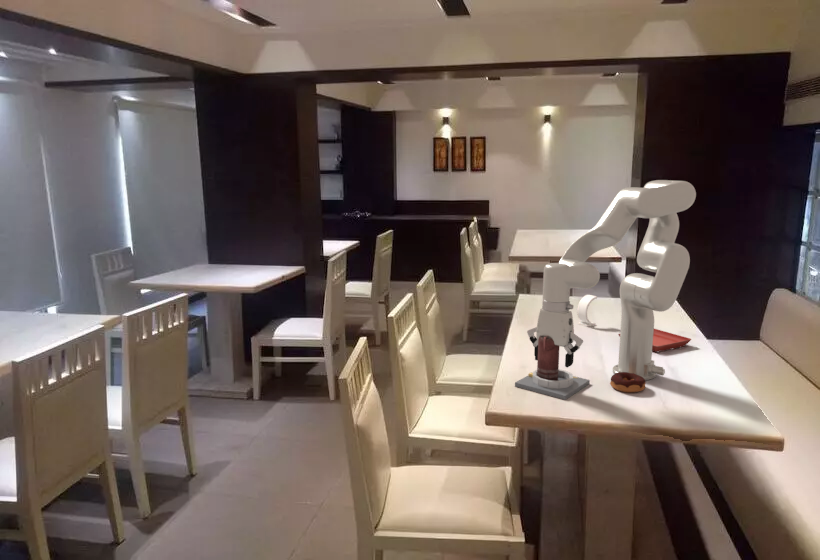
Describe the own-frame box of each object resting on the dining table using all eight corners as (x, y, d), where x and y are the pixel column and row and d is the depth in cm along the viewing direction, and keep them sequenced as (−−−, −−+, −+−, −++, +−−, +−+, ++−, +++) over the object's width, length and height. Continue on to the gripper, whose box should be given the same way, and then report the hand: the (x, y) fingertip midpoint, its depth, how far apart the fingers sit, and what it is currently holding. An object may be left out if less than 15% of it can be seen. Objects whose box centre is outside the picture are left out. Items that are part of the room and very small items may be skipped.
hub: (589, 383, 176) (589, 373, 175) (565, 399, 164) (565, 388, 163) (541, 372, 186) (541, 362, 185) (514, 386, 174) (515, 376, 173)
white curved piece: (595, 325, 240) (597, 296, 238) (584, 327, 237) (586, 298, 235) (587, 322, 244) (588, 294, 241) (576, 324, 241) (577, 296, 239)
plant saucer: (616, 342, 218) (617, 333, 218) (650, 335, 226) (651, 327, 226) (656, 355, 203) (657, 346, 202) (691, 348, 211) (692, 339, 210)
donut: (617, 379, 179) (617, 367, 179) (650, 387, 173) (651, 374, 172) (604, 389, 172) (605, 376, 171) (638, 397, 166) (639, 384, 165)
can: (534, 382, 174) (535, 336, 171) (540, 375, 179) (541, 331, 176) (554, 385, 171) (556, 339, 168) (560, 379, 176) (562, 333, 174)
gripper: (589, 308, 167) (586, 365, 171) (535, 299, 179) (533, 353, 182) (578, 313, 162) (575, 372, 165) (522, 304, 173) (520, 359, 176)
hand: (553, 362), depth 173 cm, fingers open, 9 cm apart
